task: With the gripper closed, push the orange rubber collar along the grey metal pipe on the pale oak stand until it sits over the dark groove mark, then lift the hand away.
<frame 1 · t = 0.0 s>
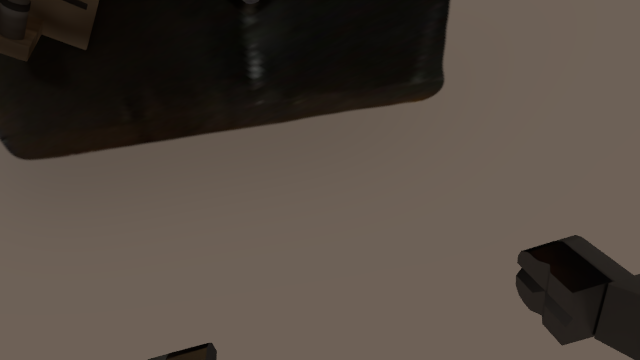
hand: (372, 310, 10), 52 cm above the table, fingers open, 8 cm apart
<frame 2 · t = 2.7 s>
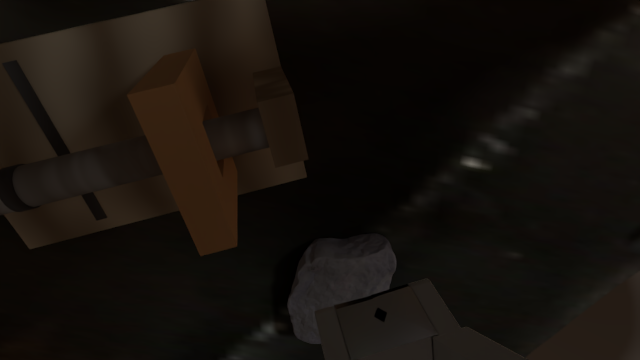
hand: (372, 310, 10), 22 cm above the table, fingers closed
collar: (197, 144, 22), point 7 cm above the table, slide at 0.0 cm
stone block: (332, 277, 39), on the table
pipe stand: (138, 124, 28), on the table
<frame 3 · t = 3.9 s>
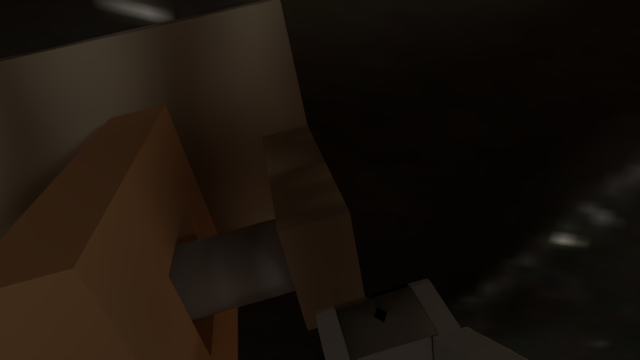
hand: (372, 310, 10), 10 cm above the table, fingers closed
collar: (165, 287, 12), point 7 cm above the table, slide at 0.0 cm
pipe stand: (83, 211, 18), on the table
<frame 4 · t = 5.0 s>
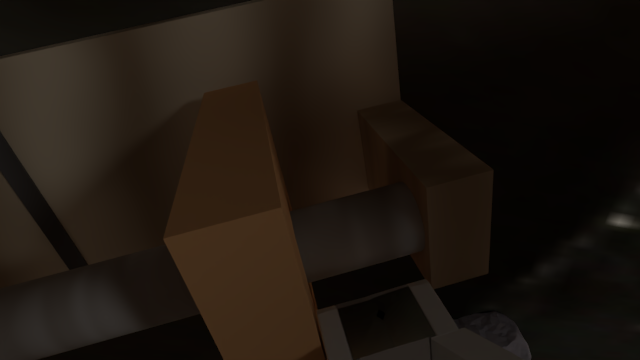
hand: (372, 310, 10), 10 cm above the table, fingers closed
collar: (269, 254, 12), point 7 cm above the table, slide at 0.8 cm, touching gripper
pipe stand: (174, 185, 18), on the table
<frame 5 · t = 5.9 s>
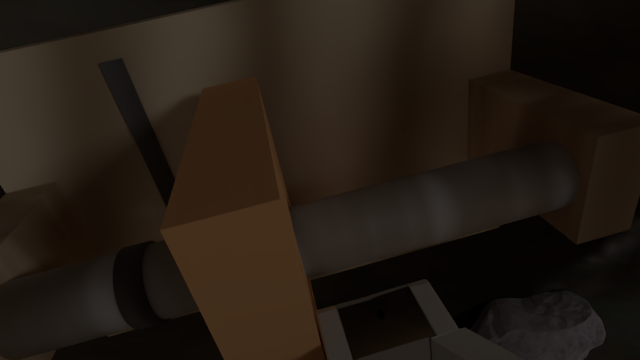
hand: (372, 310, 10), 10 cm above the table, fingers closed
collar: (268, 250, 12), point 7 cm above the table, slide at 6.1 cm, touching gripper
stone block: (493, 343, 30), on the table
pipe stand: (279, 155, 18), on the table
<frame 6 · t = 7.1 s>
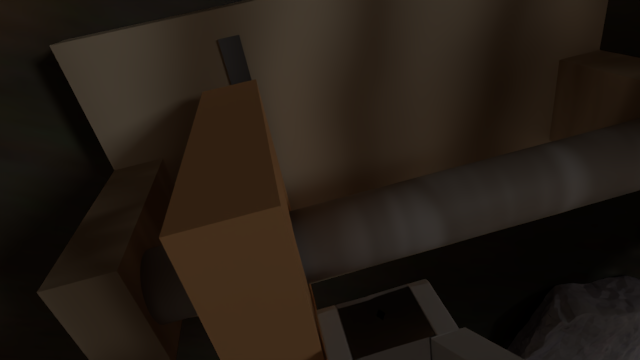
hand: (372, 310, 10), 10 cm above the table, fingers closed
collar: (268, 255, 12), point 7 cm above the table, slide at 10.4 cm, touching gripper
stone block: (551, 329, 31), on the table
pipe stand: (365, 136, 19), on the table
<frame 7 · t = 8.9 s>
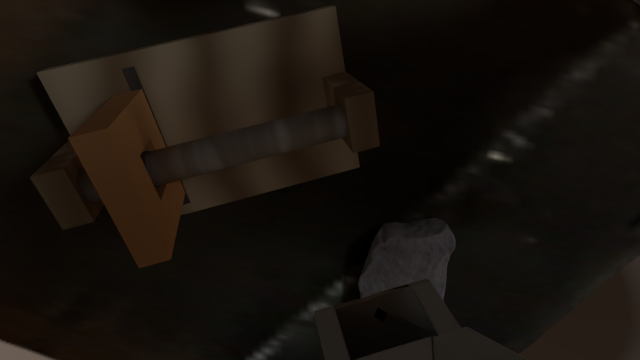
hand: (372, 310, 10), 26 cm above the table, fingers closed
collar: (140, 172, 26), point 7 cm above the table, slide at 10.4 cm
stone block: (394, 259, 44), on the table
pipe stand: (221, 121, 32), on the table
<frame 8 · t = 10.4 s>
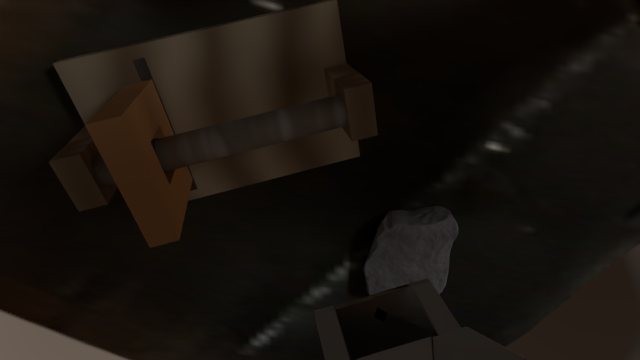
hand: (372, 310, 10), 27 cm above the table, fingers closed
collar: (150, 158, 27), point 7 cm above the table, slide at 10.4 cm
stone block: (398, 245, 46), on the table
pipe stand: (227, 110, 34), on the table
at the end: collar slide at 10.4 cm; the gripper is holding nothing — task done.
